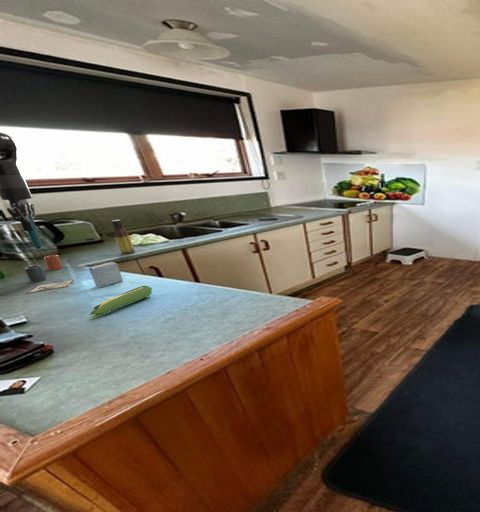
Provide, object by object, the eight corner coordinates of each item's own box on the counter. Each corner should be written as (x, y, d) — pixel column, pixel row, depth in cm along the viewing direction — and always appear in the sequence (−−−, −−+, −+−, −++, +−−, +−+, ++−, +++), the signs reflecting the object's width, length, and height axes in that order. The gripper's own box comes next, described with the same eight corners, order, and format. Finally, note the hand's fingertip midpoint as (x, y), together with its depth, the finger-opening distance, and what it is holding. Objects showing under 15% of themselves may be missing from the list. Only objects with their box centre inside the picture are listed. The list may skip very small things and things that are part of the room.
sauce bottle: (129, 250, 165) (118, 218, 159) (137, 251, 164) (127, 219, 158) (117, 254, 159) (106, 221, 153) (126, 254, 158) (114, 221, 152)
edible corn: (157, 295, 108) (154, 284, 106) (93, 321, 90) (88, 309, 88) (148, 293, 109) (145, 283, 108) (83, 319, 91) (78, 307, 90)
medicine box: (118, 279, 124) (112, 261, 121) (123, 281, 122) (117, 263, 119) (95, 286, 117) (88, 267, 114) (100, 288, 115) (92, 269, 112)
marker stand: (29, 284, 120) (22, 269, 117) (34, 280, 123) (27, 266, 121) (44, 281, 122) (37, 267, 120) (49, 278, 126) (42, 264, 123)
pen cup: (47, 271, 134) (41, 258, 132) (51, 268, 138) (46, 255, 135) (61, 269, 136) (55, 256, 134) (64, 267, 140) (59, 254, 138)
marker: (33, 249, 113) (19, 218, 109) (36, 248, 115) (23, 217, 110) (41, 248, 114) (28, 218, 110) (44, 247, 116) (31, 217, 112)
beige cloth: (26, 294, 110) (25, 293, 109) (36, 287, 117) (36, 285, 117) (68, 287, 116) (67, 286, 116) (76, 280, 123) (75, 279, 123)
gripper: (8, 186, 110) (26, 227, 115) (-15, 188, 99) (6, 234, 104) (35, 185, 114) (51, 225, 119) (16, 187, 102) (35, 232, 108)
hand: (30, 229), depth 112 cm, fingers closed on marker, 2 cm apart
